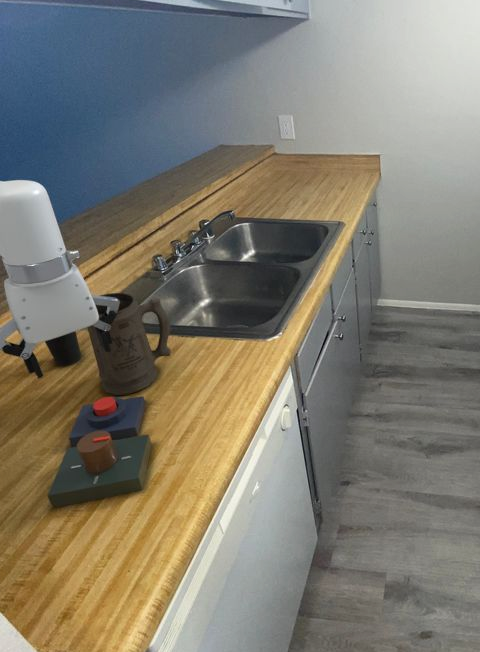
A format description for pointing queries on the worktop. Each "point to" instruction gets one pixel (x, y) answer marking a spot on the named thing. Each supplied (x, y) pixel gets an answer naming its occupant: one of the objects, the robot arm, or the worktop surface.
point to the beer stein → (129, 346)
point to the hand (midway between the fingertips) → (73, 360)
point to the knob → (97, 451)
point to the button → (105, 406)
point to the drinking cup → (65, 349)
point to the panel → (102, 474)
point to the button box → (110, 420)
